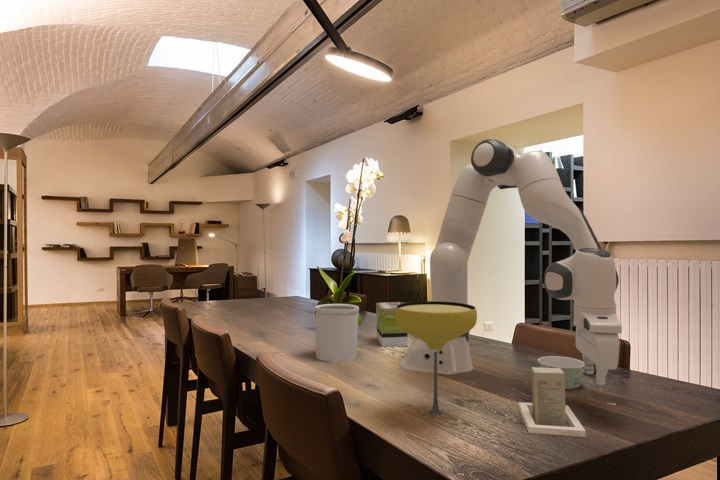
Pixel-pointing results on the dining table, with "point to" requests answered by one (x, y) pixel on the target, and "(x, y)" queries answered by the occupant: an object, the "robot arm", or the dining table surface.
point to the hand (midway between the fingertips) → (594, 378)
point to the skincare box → (548, 396)
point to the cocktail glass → (436, 326)
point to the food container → (565, 368)
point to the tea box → (389, 326)
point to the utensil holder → (336, 332)
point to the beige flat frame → (574, 430)
